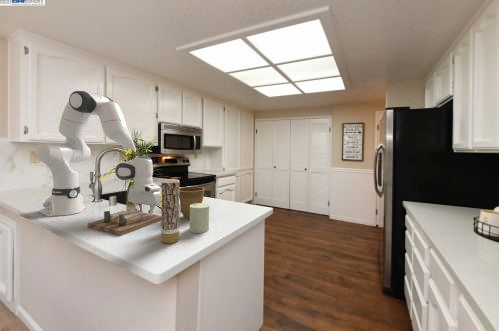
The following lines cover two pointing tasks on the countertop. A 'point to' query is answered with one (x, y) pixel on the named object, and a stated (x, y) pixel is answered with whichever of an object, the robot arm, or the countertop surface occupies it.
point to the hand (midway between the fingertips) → (144, 212)
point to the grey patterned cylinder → (170, 211)
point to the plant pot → (190, 198)
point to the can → (199, 217)
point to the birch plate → (129, 217)
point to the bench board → (125, 228)
